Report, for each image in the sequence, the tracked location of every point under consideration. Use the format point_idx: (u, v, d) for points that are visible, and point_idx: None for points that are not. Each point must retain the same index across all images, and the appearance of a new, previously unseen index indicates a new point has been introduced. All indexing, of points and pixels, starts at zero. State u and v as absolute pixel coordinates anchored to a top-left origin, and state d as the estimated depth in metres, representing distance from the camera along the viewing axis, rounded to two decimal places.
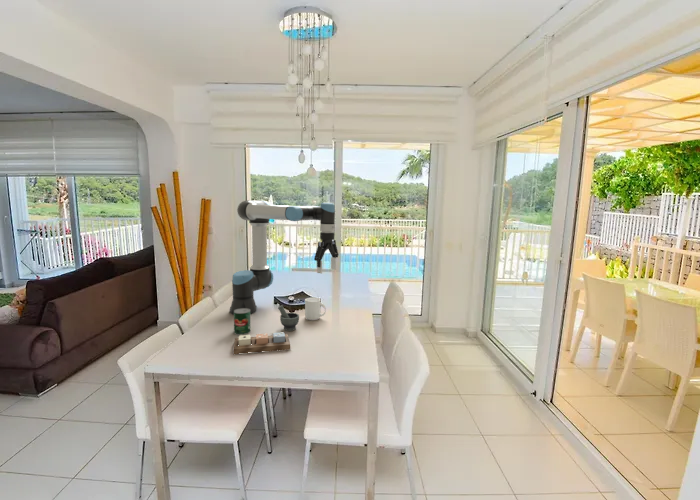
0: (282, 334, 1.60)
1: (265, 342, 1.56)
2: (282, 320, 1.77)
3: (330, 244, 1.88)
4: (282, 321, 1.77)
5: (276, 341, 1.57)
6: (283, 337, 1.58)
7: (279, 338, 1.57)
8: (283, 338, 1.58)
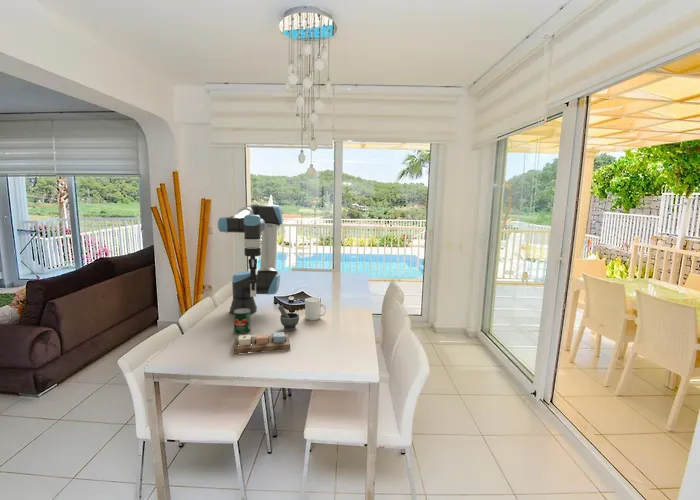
0: (282, 334, 1.60)
1: (265, 342, 1.56)
2: (282, 320, 1.77)
3: (256, 260, 1.69)
4: (282, 321, 1.77)
5: (276, 341, 1.57)
6: (283, 337, 1.58)
7: (279, 338, 1.57)
8: (283, 338, 1.58)
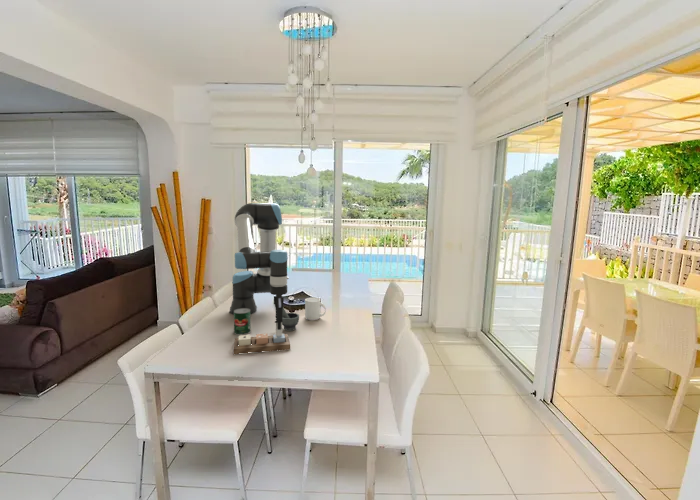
0: (282, 336, 1.60)
1: (265, 342, 1.56)
2: None
3: (282, 297, 1.58)
4: None
5: None
6: (283, 339, 1.58)
7: (279, 340, 1.58)
8: (283, 340, 1.58)
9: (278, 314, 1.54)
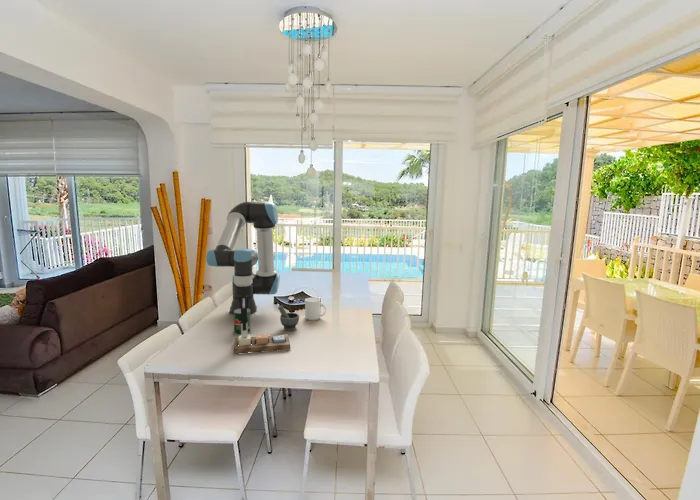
0: (282, 337, 1.60)
1: (265, 342, 1.56)
2: (282, 320, 1.77)
3: (247, 297, 1.54)
4: (282, 321, 1.77)
5: None
6: (283, 340, 1.58)
7: (279, 341, 1.58)
8: (283, 341, 1.58)
9: (242, 315, 1.49)
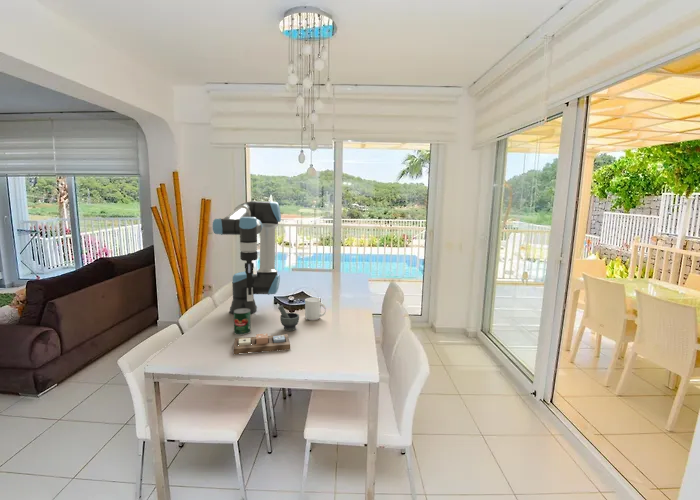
0: (282, 337, 1.60)
1: (265, 342, 1.56)
2: (282, 320, 1.77)
3: None
4: (282, 321, 1.77)
5: None
6: (283, 340, 1.58)
7: (279, 341, 1.58)
8: (283, 341, 1.58)
9: (248, 279, 1.57)
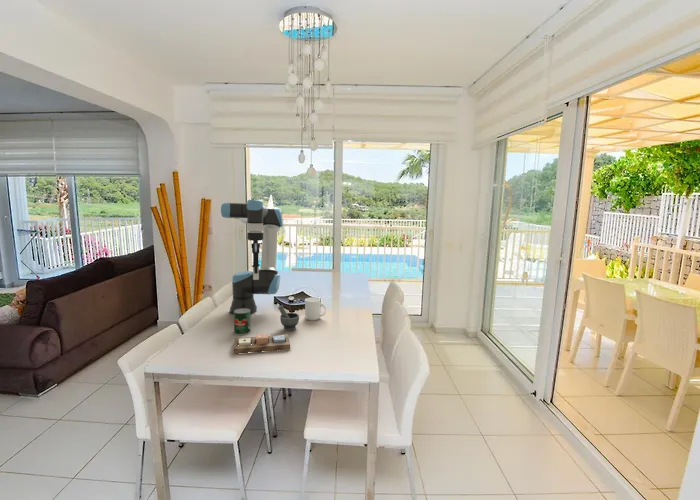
0: (282, 337, 1.60)
1: (265, 342, 1.56)
2: (282, 320, 1.77)
3: None
4: (282, 321, 1.77)
5: None
6: (283, 340, 1.58)
7: (279, 341, 1.58)
8: (283, 341, 1.58)
9: (254, 258, 1.67)
